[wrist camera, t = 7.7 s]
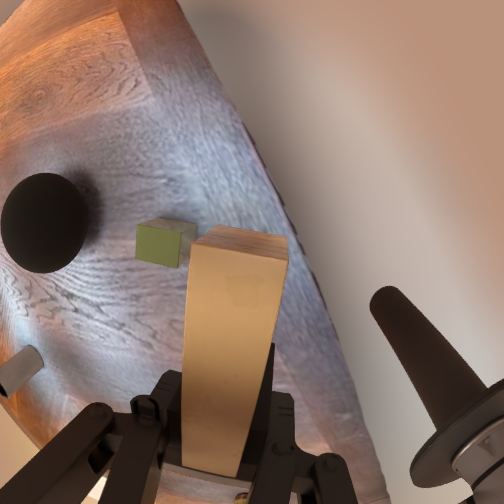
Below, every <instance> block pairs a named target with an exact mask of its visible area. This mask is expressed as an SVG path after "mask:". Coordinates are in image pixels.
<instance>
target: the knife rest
mask: <svg viewBox="0 0 504 504" xmlns="http://www.w3.org/2000/svg"><path fill="white" fill-rule="evenodd" d="M197 226H198V225H197V224H194V223H188V222H183V221H177V220H171V219H165V218H156V219H153V220H150V221H147V222H144V223H141V224H138V225H137V236H136V253H135V259H138V260H142V261H146V262H151V263H155V264H160V265H164V266H169V267H173V268H179V267H180V266H181V265H182V264H183V263H185V262H186V261H187V260H188V259H189V258H190V251H191V244H192V242H194V241H195V240H196V234H197Z"/></svg>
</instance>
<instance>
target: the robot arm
mask: <svg viewBox="0 0 504 504" xmlns="http://www.w3.org/2000/svg"><path fill="white" fill-rule="evenodd" d="M274 351H275V343H272V342H271V346H270V351H269V355H268V359H267V363H266V367H265V371H264V375H263V379H262V383H261V387H260V391H259V395H258V399H257V403H256V407H255V411H254V415H253V418H252V422H251V426H250V429H249V433H248V437H247V440H246V444H245V448H244V451H243V455H242V458H241V462H240V463H244V464H250V465H256V464H257V469H256V471H255V474H254V476H253V479H252V483H251V487H250V490H249V493H248V496H247V499H246V502H245V504H289V500H290V495H291V492H294V493H297V499H298V504H358V501H357V498H356V494H355V491H354V488H353V484H352V481H351V478H350V474H349V471H348V468H347V464H346V462H345V460H344V459H343V458H342V457H341V456H340V455H337V454H335V453H324V454H321V455H320V456H315V455H312V454H309V453H306V452H304V451H303V450H301V449H300V448H299V447H298V446H297V444H296V442H295V418H294V400H293V398H292V396H291V395H290V394H289V393H282V392H275V391H272V381H273V366H274ZM181 400H182V373H181V372H177V371H174V370H168V371H167V372H165V373H164V374H162V376H161V378H160V379H159V381H158V383H157V384H156V386H155V388H154V389H153V391H152V393H151V394H150V395H138V396H136V397H134V398H133V399H132V400H131V401H130V405H131V411H132V413H118V412H113V410H112V408H111V407H110V406H108V405H107V404H105V403H101V402H95V403H91V404H89V405H88V406H86V407H85V408H84V409H83V410H82V411H81V412H80V413H79V414H78V415H77V416H76V417H75V418H74V419H73V420H72V421H71V422H70V423H69V424H68V425H67V426H66V427H64V428H63V429H62V430H61V431H60V432H59V433H58V434H57V435H56V436H55V437H54V438H53V439H52V440H51V441H50V442H49V443H48V444H47V445H46V446H45V447H44V448H43V449H42V450H40V451H39V452H38V453H37V454H36V455H35V456H34V457H33V458H32V459H31V460H30V461H29V462H28V463H27V464H26V465H25V466H24V467H23V468H22V469H21V470H20V471H19V472H18V473H17V474H15V476H13V477H12V478H11V479H10V480H9V481H8V482H7V483H6V484H5V485H4V486H3V487H2V488H1V489H0V504H81V502H82V501H83V500H84V498H85V497H86V496H87V495H88V494H89V493H90V491H91V490H92V489H93V488H94V486H95V485H96V484H97V483H98V481H99V480H100V479H101V477H102V476H103V475H104V474H105V472H106V471H107V470H108V469H109V467H110V466H111V465H112V466H111V469H110V472H109V474H108V477H107V479H106V482H105V485H104V488H103V490H102V493H101V496H100V499H99V502H98V504H154V502H155V498H156V493H157V489H158V485H159V480H160V476H161V472H162V468H163V464H164V459H165V455H166V446H167V444H168V441H169V446H171V447H174V448H178V449H181V450H182V440H181ZM450 464H451V466H452V468H453V470H454V471H455V472H456V473H458V474H459V476H460V477H462V478H463V479H464V480H465V481H466V482H467V483H468V484H469V485H470V486H471V489H472V491H473V495H472V496H470V497H469V498H467V499H465V500H464V501H462V502H461V503H459V504H504V415H501V416H499V417H497V418H495V419H493V420H492V421H490V422H489V423H487V424H486V425H484V426H483V427H481V428H480V429H479V430H478V431H476V432H475V433H474V434H473V435H472V436H471V437H469V438H468V439H467V440H466V441H465V442H464V443H463V444H462V445H461V446H460V447H459V448H458V450H457V451H456V452H455V453H454V455H453V457H452V458H451V461H450Z"/></svg>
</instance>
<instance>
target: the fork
mask: <svg viewBox="0 0 504 504" xmlns="http://www.w3.org/2000/svg"><path fill="white" fill-rule="evenodd" d="M288 264H289V256H288V246H287V237H285V236H279V235H274V234H268V233H263V232H257V231H251V230H245V229H240V228H234V227H228V226H222V225H217V226H216V227H214V228H213V229H211V230H210V231H208V232H207V233H205V234H204V235H202V236H201V237H199V238H198V239H197V240H195V241H194V242H192V244H191V251H190V261H189V272H188V283H187V295H186V308H185V323H184V341H183V363H182V400H181V440H182V450H181V449H178V448H174V447H171V446H169V441H168V444H167V446H166V455H165V459H164V464H163V468H162V469H165V470H168V471H172V472H175V473H178V474H182V475H185V476H189V477H193V478H197V479H201V480H205V481H210V482H214V483H219V484H224V485H230V486H235V487H242V488H248V489H250V487H251V483H252V479H253V476H254V474H255V471H256V469H257V464H256V465H250V464H244V463H240V462H241V458H242V455H243V451H244V448H245V444H246V440H247V437H248V433H249V429H250V426H251V422H252V418H253V415H254V411H255V407H256V403H257V399H258V395H259V391H260V387H261V383H262V379H263V375H264V371H265V367H266V363H267V359H268V355H269V351H270V346H271V342H272V338H273V333H274V329H275V325H276V320H277V316H278V311H279V307H280V302H281V298H282V293H283V288H284V283H285V279H286V274H287V269H288Z"/></svg>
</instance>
